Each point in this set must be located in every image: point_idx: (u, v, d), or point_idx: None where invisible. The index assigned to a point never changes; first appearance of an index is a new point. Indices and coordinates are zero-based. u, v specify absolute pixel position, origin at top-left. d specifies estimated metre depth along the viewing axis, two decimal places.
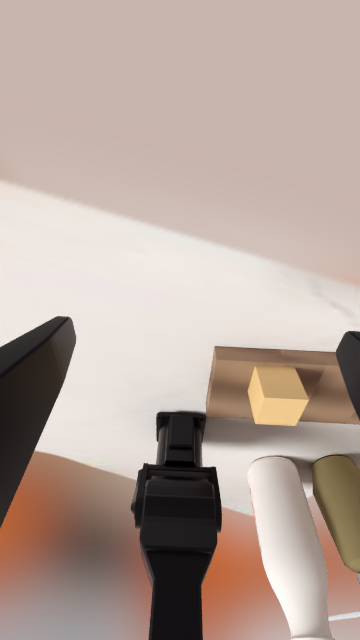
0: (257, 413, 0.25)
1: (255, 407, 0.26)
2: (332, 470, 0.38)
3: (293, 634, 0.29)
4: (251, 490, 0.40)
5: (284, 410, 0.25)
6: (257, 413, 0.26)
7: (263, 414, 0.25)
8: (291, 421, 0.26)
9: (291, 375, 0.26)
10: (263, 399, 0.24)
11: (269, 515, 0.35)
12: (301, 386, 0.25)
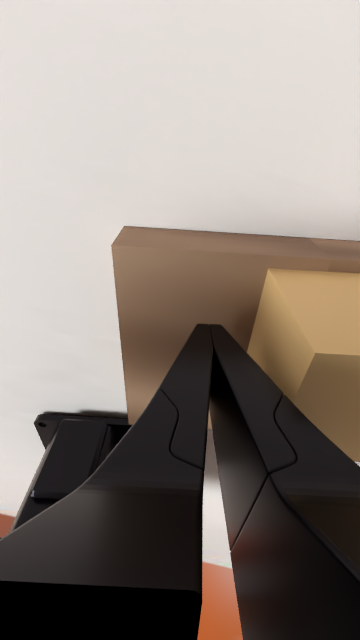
0: None
1: None
2: None
3: None
4: None
5: None
6: None
7: None
8: None
9: None
10: (310, 361, 0.05)
11: None
12: None
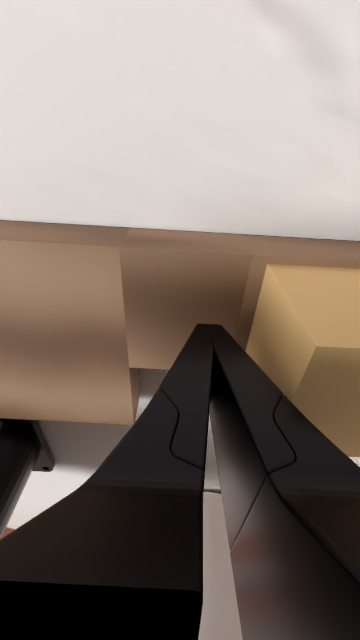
0: None
1: None
2: None
3: None
4: None
5: None
6: None
7: None
8: None
9: None
10: (311, 354, 0.05)
11: None
12: None
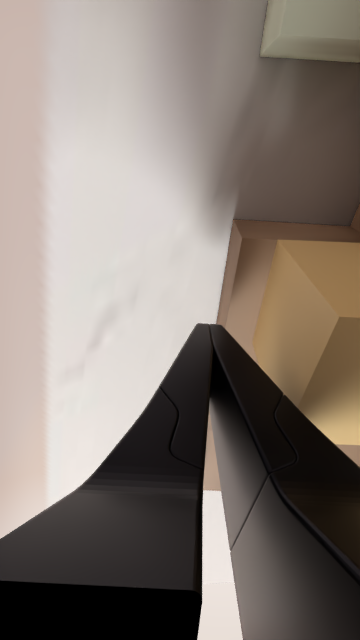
0: None
1: None
2: None
3: None
4: None
5: None
6: None
7: None
8: None
9: (282, 277, 0.07)
10: None
11: None
12: (305, 284, 0.06)
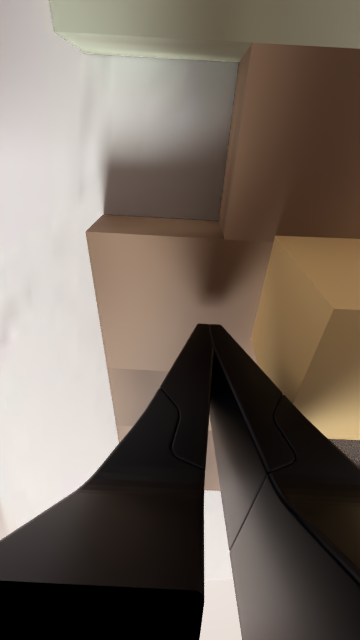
0: None
1: None
2: None
3: None
4: None
5: None
6: None
7: None
8: None
9: (279, 273, 0.07)
10: None
11: None
12: (300, 278, 0.06)
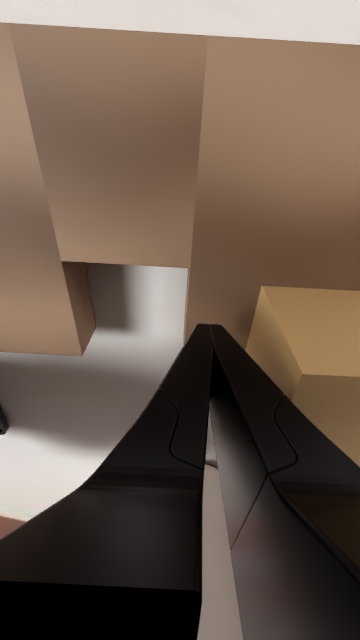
0: None
1: None
2: None
3: None
4: None
5: None
6: None
7: None
8: None
9: None
10: (298, 381, 0.06)
11: None
12: None
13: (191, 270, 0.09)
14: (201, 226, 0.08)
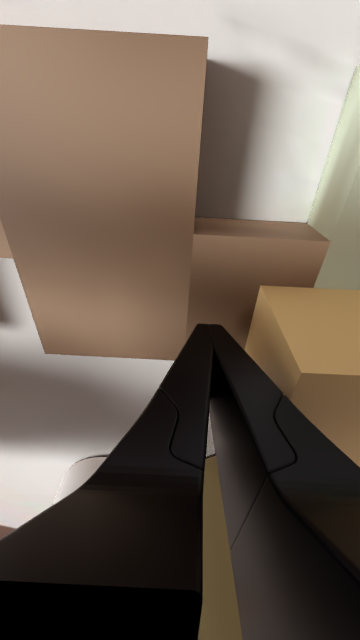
0: None
1: None
2: (207, 487, 0.17)
3: None
4: None
5: None
6: None
7: None
8: None
9: None
10: (297, 380, 0.06)
11: None
12: None
13: (15, 260, 0.09)
14: (6, 215, 0.08)
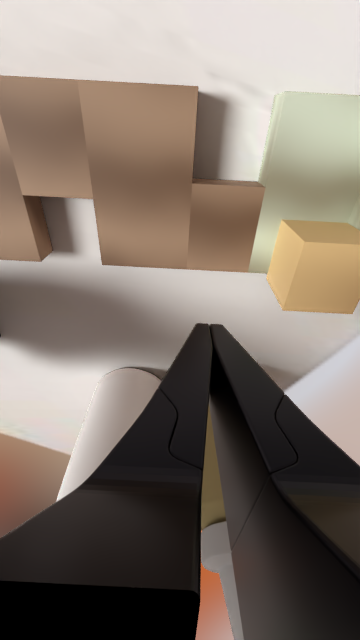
0: (288, 287, 0.15)
1: (284, 281, 0.15)
2: None
3: None
4: None
5: (338, 275, 0.14)
6: (288, 287, 0.15)
7: (300, 285, 0.14)
8: (346, 303, 0.15)
9: (345, 227, 0.15)
10: (303, 246, 0.13)
11: (80, 442, 0.21)
12: None
13: (94, 200, 0.16)
14: (93, 173, 0.15)
